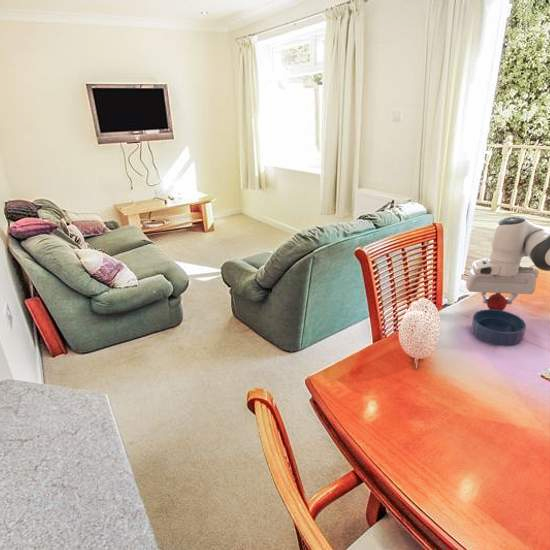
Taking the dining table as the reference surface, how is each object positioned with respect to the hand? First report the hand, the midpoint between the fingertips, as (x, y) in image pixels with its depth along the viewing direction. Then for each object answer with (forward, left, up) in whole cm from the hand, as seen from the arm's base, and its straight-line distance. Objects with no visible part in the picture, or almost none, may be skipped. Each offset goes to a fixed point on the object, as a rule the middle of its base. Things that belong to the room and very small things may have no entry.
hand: (496, 303), depth 128 cm
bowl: (+3, +14, -4) cm, 15 cm away
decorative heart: (+28, +30, -4) cm, 41 cm away
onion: (0, 0, -4) cm, 4 cm away
